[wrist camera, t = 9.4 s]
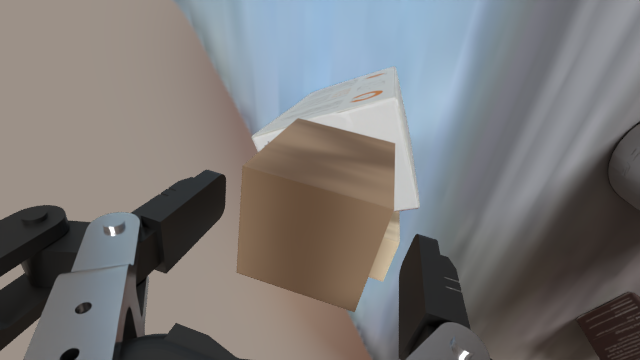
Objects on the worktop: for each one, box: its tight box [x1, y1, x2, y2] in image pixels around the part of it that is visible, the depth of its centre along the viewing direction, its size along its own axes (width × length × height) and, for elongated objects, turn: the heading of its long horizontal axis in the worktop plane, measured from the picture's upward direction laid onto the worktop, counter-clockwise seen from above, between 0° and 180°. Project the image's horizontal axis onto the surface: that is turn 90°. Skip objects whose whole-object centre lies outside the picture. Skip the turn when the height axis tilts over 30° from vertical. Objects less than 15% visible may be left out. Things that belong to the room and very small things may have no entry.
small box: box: [252, 66, 420, 212], centre depth 21 cm, size 8×6×13 cm
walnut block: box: [237, 118, 395, 312], centre depth 13 cm, size 5×5×6 cm
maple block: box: [368, 211, 400, 281], centre depth 29 cm, size 5×5×6 cm
